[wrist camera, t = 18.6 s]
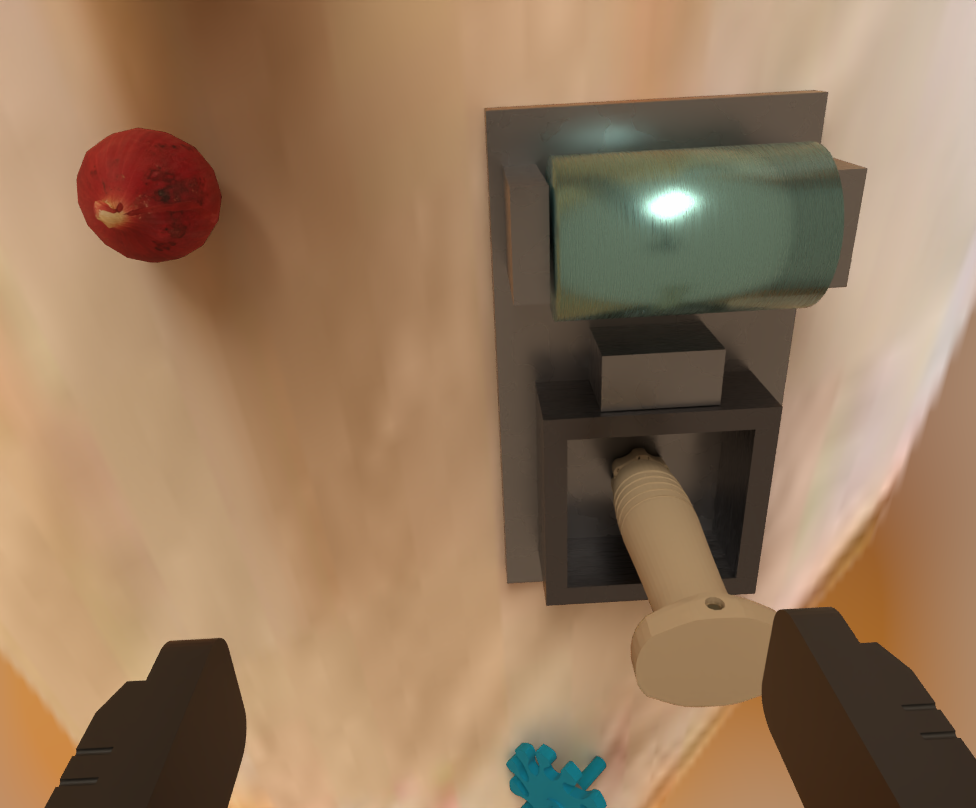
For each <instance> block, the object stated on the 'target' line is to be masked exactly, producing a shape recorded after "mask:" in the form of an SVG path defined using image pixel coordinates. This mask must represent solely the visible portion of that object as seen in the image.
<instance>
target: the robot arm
mask: <svg viewBox="0 0 976 808" xmlns="http://www.w3.org/2000/svg"><path fill="white" fill-rule="evenodd" d="M761 691H762V704H763V709H764V714H765V718H766V721H767V724H768V727H769V730H770V732H771V734H772V737H773V739H774V741H775V743H776V745H777V748H778V750H779V752H780V754H781V757H782V759H783V761H784V763H785V765H786V767H787V770H788V772H789V774H790V776H791V779H792V781H793V783H794V785H795V787H796V790H797V792H798V794H799V797H800V799H801V801H802V803H803V805H804V808H976V759H975V758H974V756H973V755H972V753H971V752H970V750H969V749H968V748H967V746H966V745H965V744H964V742H963V741H962V739H961V738H957V737H956V734H955V730H954V728H953V727H952V725H951V724H950V723H949V721H948V720H947V718H946V717H945V716H944V714H943V713H942V711H941V710H937V709H936V706H935V702H934V700H933V699H932V698H931V696H930V695H929V693H928V692H927V691H926V689H925V688H924V686H923V685H922V684H921V682H920V681H919V679H918V678H917V677H916V675H915V674H914V672H913V671H912V670H911V669H910V668H909V667H907V666H906V665H905V664H903V663H902V662H901V661H900V660H899V659H897V658H896V657H895V656H893V655H892V654H891V653H890V652H888V651H887V650H886V649H885V648H883V647H882V646H881V645H880V644H878V643H877V642H873V643H860V642H859V641H858V639H857V638H856V637H855V635H854V633H853V632H852V630H851V629H850V628H849V626H848V624H847V623H846V621H845V620H844V619H843V617H842V616H841V614H840V613H839V612H838V611H837V610H836V609H834V608H832V607H819V608H801V609H783V610H779V611H777V613H776V614H775V616H774V620H773V625H772V631H771V636H770V641H769V647H768V652H767V658H766V663H765V669H764V674H763V680H762V690H761ZM245 742H246V713H245V708H244V704H243V701H242V697H241V693H240V689H239V686H238V682H237V678H236V674H235V671H234V667H233V663H232V659H231V656H230V652H229V648H228V645H227V643H226V641H225V640H224V639H222V638H214V639H196V640H177V641H169V642H167V643H166V644H165V645H164V646H163V647H162V649H161V651H160V653H159V655H158V657H157V659H156V661H155V663H154V665H153V667H152V669H151V671H150V673H149V675H148V677H147V679H146V681H128V682H126V683H125V684H124V685H123V686H122V687H121V688H120V689H119V690H118V691H117V692H116V693H115V694H114V695H113V696H112V697H111V698H110V699H109V700H108V701H107V702H106V703H105V704H104V705H103V706H102V707H101V708H100V709H99V710H98V711H97V712H96V713H95V715H94V717H93V719H92V721H91V722H90V724H89V726H88V728H87V730H86V732H85V734H84V735H83V737H82V739H81V741H80V743H79V745H78V747H77V748H76V755H75V756H72V758H71V760H70V761H69V763H68V765H67V767H66V769H65V771H64V773H63V774H62V776H61V778H60V785H59V787H56V788H55V789H54V791H53V793H52V795H51V797H50V799H49V800H48V802H47V804H46V806H45V808H228V804H229V801H230V798H231V794H232V791H233V788H234V784H235V781H236V778H237V774H238V771H239V768H240V764H241V761H242V757H243V753H244V748H245Z"/></svg>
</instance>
